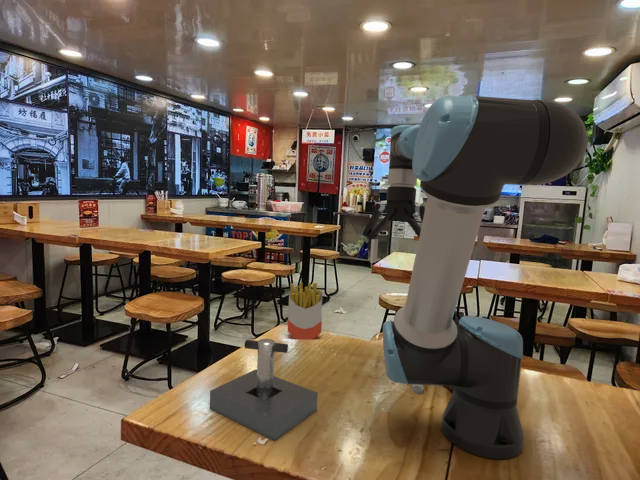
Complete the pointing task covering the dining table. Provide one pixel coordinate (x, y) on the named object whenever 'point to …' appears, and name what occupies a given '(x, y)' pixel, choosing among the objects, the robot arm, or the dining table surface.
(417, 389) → the adjustable wrench
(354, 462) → the dining table surface
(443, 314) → the robot arm
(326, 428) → the dining table surface
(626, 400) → the dining table surface
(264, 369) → the chuck key
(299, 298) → the french fries container
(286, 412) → the block
